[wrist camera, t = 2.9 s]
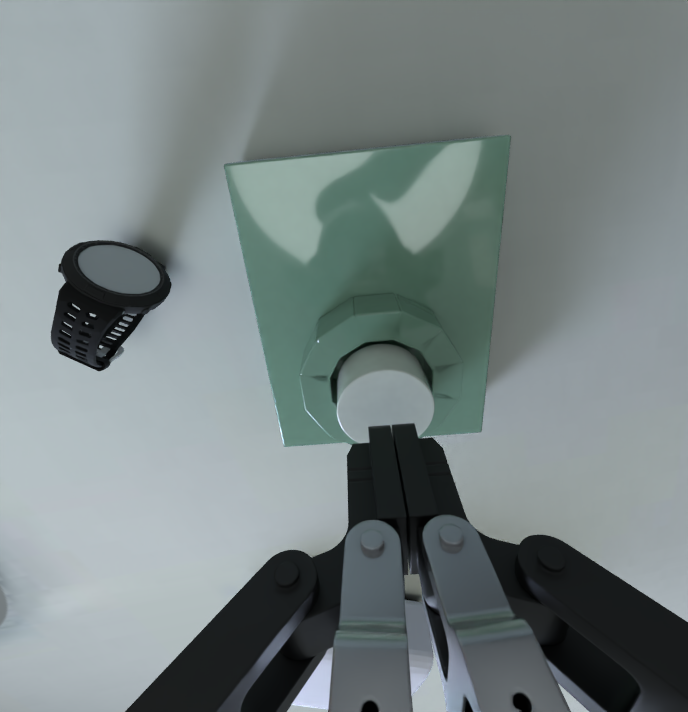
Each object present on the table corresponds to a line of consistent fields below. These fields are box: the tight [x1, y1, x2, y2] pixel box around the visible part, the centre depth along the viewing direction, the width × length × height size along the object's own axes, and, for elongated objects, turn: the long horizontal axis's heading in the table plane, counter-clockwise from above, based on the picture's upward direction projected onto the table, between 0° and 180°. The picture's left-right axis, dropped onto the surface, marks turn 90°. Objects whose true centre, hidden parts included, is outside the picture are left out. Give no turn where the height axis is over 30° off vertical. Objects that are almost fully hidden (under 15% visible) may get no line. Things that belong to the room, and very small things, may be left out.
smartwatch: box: [51, 240, 171, 371], centre depth 16 cm, size 4×5×5 cm
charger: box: [291, 600, 433, 709], centre depth 29 cm, size 5×9×15 cm
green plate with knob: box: [224, 135, 511, 447], centre depth 17 cm, size 13×10×4 cm
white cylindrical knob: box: [337, 344, 435, 443], centre depth 15 cm, size 4×4×2 cm
